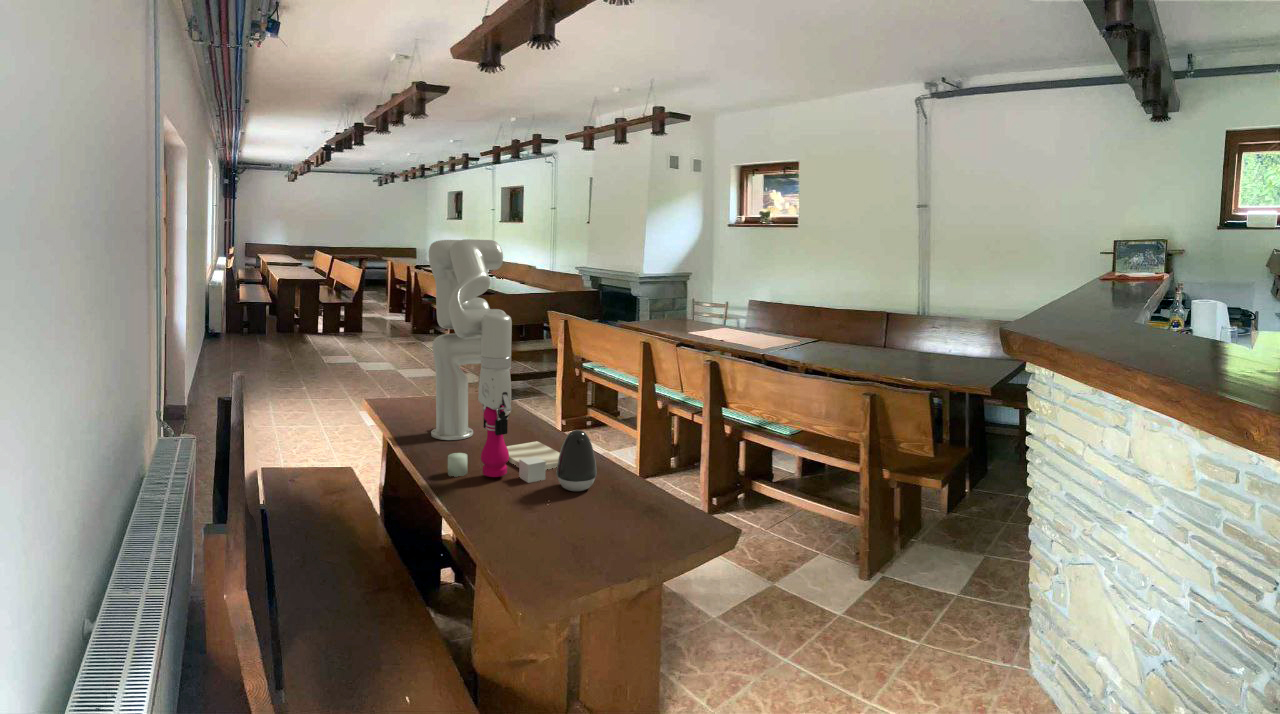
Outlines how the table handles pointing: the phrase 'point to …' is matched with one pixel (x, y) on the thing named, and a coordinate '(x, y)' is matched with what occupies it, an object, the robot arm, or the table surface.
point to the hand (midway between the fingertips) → (495, 430)
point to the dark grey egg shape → (576, 462)
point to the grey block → (532, 469)
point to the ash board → (533, 453)
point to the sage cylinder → (457, 464)
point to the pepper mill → (494, 448)
